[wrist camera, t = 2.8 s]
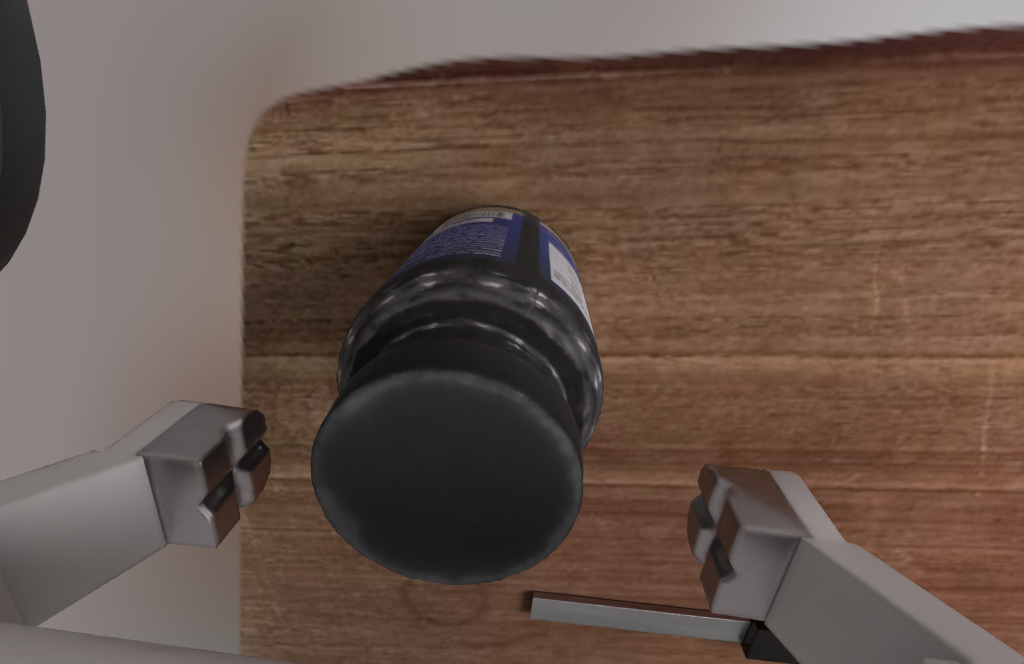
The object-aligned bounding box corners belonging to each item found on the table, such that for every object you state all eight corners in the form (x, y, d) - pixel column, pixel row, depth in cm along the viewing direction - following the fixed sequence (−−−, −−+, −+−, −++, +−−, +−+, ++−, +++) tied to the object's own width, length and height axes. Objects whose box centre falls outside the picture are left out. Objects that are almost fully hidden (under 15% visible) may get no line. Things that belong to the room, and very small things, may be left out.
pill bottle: (398, 325, 19) (237, 555, 9) (444, 174, 17) (295, 260, 7) (542, 378, 20) (543, 649, 10) (607, 239, 17) (699, 409, 7)
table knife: (529, 615, 26) (528, 634, 25) (533, 587, 25) (533, 604, 24) (892, 657, 25) (905, 677, 24) (910, 629, 24) (924, 649, 23)
